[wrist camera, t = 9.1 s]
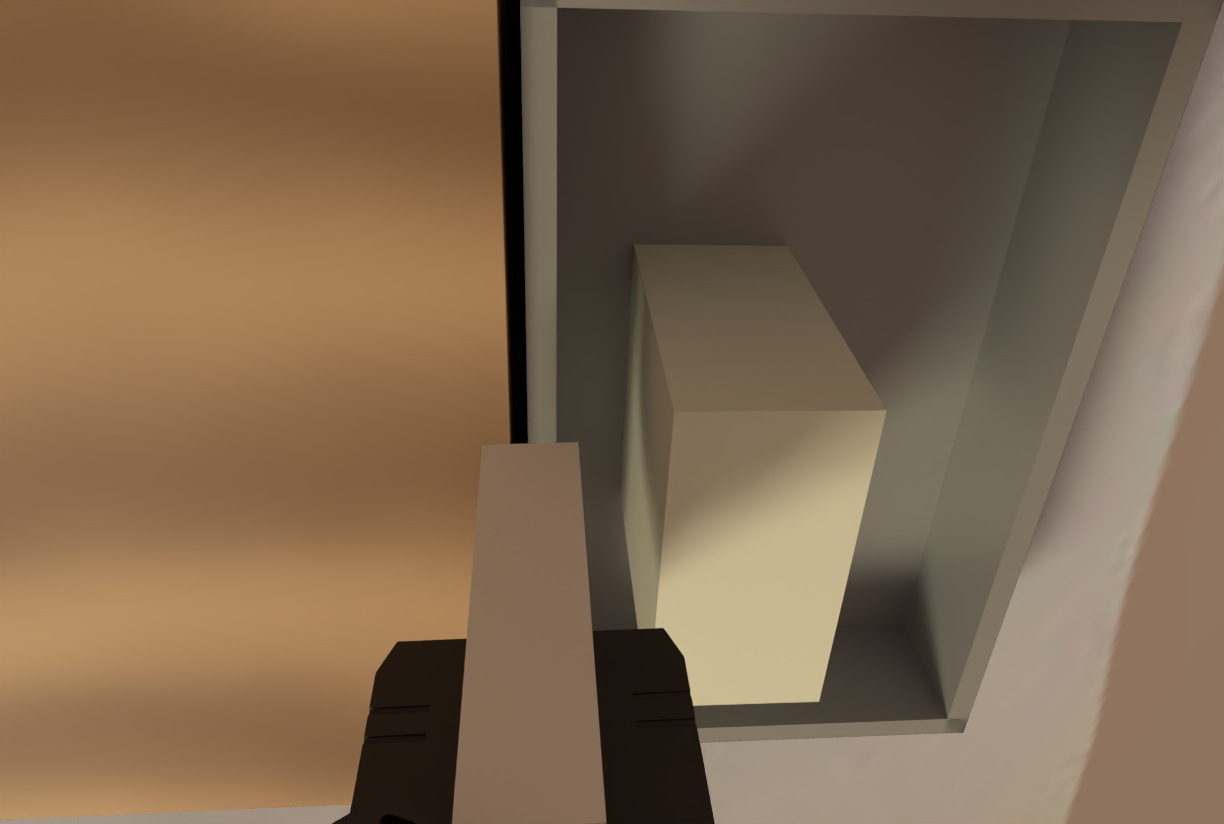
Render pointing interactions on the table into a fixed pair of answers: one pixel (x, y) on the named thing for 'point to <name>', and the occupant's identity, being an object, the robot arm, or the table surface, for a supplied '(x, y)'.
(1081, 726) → the table surface
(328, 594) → the board
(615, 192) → the tray
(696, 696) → the block
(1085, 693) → the table surface
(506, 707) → the robot arm
